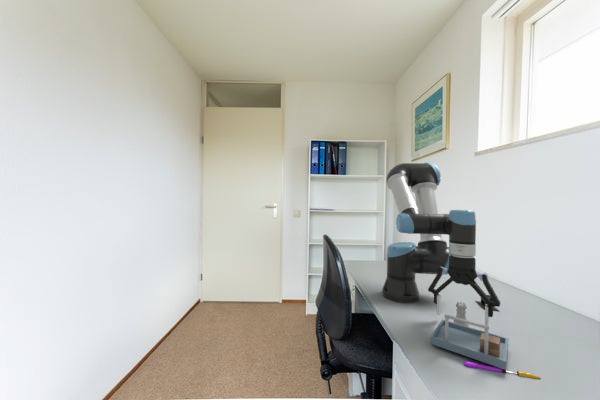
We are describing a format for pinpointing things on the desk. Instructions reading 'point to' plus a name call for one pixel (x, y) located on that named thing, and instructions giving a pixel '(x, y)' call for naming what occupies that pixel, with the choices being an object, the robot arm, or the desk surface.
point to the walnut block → (491, 345)
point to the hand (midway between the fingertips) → (461, 319)
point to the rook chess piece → (461, 313)
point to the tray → (468, 341)
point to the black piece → (482, 304)
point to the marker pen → (497, 369)
